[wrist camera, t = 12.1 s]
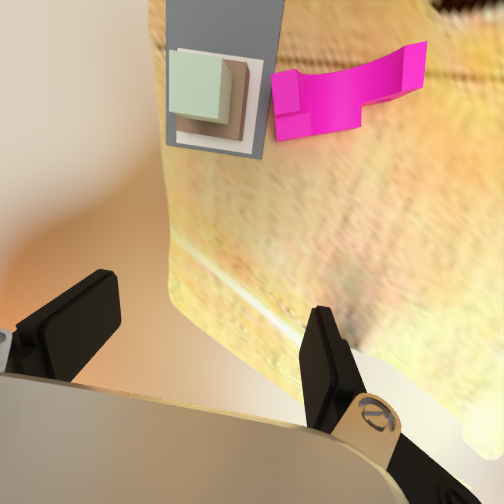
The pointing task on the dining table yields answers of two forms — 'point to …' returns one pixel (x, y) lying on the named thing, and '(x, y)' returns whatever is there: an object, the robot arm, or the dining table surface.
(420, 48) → the magenta saddle bracket
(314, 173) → the dining table surface
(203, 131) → the walnut base block
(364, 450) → the robot arm
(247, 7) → the slate mat
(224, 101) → the sage block
